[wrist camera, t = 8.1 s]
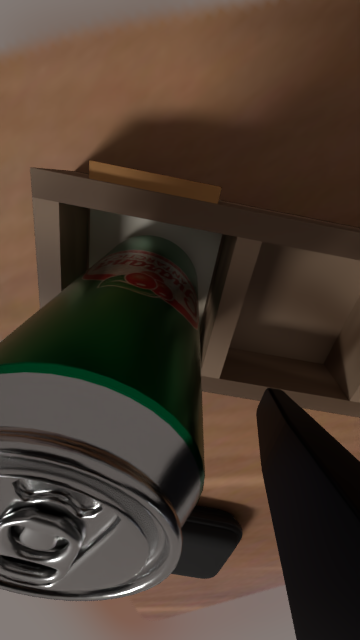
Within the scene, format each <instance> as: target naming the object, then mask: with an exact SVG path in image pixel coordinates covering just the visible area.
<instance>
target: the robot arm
mask: <svg viewBox="0 0 360 640" xmlns="http://www.w3.org/2000/svg"><path fill="white" fill-rule="evenodd" d="M256 416H257V427H258V437H259V448H260V458H261V466H262V473H263V478H264V483H265V488H266V493H267V498H268V503H269V507H270V512H271V517H272V522H273V527H274V532H275V537H276V541H277V546H278V551H279V556H280V561H281V566H282V571H283V576H284V580H285V585H286V590H287V595H288V600H289V605H290V610H291V614H292V619H293V624H294V629H295V634H296V639H297V640H360V461H358V460H357V459H356V458H355V457H354V456H353V455H352V454H351V453H350V452H349V451H348V450H347V449H345V448H344V447H343V446H342V445H341V444H340V443H339V442H338V441H337V440H336V439H335V438H334V437H332V436H331V435H330V434H329V433H328V432H327V431H326V430H325V429H324V428H323V427H322V426H321V425H319V424H318V423H317V422H316V421H315V420H314V419H313V418H312V417H311V416H310V415H309V414H308V413H307V412H305V411H304V410H303V409H302V408H301V407H300V406H299V405H298V404H297V403H296V402H295V401H294V400H292V399H291V398H290V397H289V396H288V395H287V394H286V393H285V392H284V391H283V390H281V389H275V388H267V389H266V390H265V391H264V394H263V396H262V398H261V401H260V403H259V405H258V408H257V414H256Z"/></svg>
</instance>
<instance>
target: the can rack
mask: <svg viewBox="0 0 360 640" xmlns="http://www.w3.org/2000/svg"><path fill="white" fill-rule="evenodd" d="M30 173H31V187H32V201H33V215H34V229H35V244H36V258H37V272H38V286H39V301H40V309H41V308H42V307H43V306H45V305H46V304H47V303H48V302H49V301H51V300H52V299H53V298H54V297H55V296H57V295H58V294H59V293H60V292H61V291H63V290H64V289H65V288H66V287H67V286H69V285H70V284H71V283H72V282H73V281H75V280H76V279H77V278H78V277H80V276H81V275H82V274H83V273H84V272H86V271H87V270H88V269H89V268H90V267H92V266H93V265H94V264H95V263H96V262H98V261H99V260H100V259H101V258H102V257H104V256H105V255H106V254H107V253H108V252H110V251H111V250H112V249H113V248H114V247H116V246H117V245H118V244H120V243H121V242H123V241H125V240H127V239H129V238H132V237H135V236H142V235H152V236H158V237H162V238H164V239H167V240H169V241H171V242H173V243H175V244H176V245H177V246H179V247H180V248H181V249H182V250H183V251H184V252H185V253H186V254H187V255H188V257H189V258H190V260H191V261H192V263H193V265H194V267H195V270H196V274H197V280H198V301H199V328H200V356H201V384H202V391H204V392H210V393H216V394H222V395H228V396H234V397H240V398H246V399H252V400H258V401H261V398H262V396H263V394H264V391H265V390H266V389H267V388H275V389H281V390H283V391H284V392H285V393H286V394H287V395H288V396H289V397H290V398H291V399H292V400H294V401H295V402H296V403H297V404H298V405H299V406H300V407H301V408H305V409H311V410H317V411H323V412H329V413H335V414H341V415H347V416H353V417H359V418H360V228H357V227H352V226H347V225H342V224H337V223H332V222H327V221H322V220H317V219H312V218H307V217H302V216H296V215H291V214H286V213H281V212H276V211H271V210H266V209H261V208H256V207H251V206H246V205H241V204H236V203H231V202H226V201H221V200H219V197H220V193H221V188H222V187H220V186H215V185H210V184H205V183H200V182H195V181H190V180H185V179H180V178H175V177H170V176H165V175H160V174H155V173H150V172H145V171H140V170H135V169H130V168H125V167H120V166H115V165H110V164H105V163H100V162H95V161H90V160H89V174H85V173H80V172H75V171H66V170H55V169H43V168H32V167H30Z"/></svg>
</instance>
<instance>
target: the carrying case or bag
mask: <svg viewBox="0 0 360 640" xmlns="http://www.w3.org/2000/svg"><path fill="white" fill-rule="evenodd" d="M181 530H182V537H183V542H182V551H181V555H180V558H179V561H178V563H177V565H176V568H175V569H174V570H173V571H172V573H171V574H177V575H183V576H189V577H195V578H212V577H214V576H215V575H216V574H217V573H218V572H219V571H220V569H221V568H222V566H223V565H224V563H225V562H226V561H227V559H228V558H229V556H230V555H231V554H232V552H233V551H234V549H235V548H236V546H237V545H238V543H239V542H240V540H241V538H242V528H241V526H240V524H239V523H238V521H237V520H235V519H234V517H233V516H232V515H231V514H229V513H227V512H225V511H221V510H216V509H211V508H206V507H201V506H195V507H194V509H193V511H192V512H191V514H190V515H189V517H188V518H187V520H186V522H185V523H184V525H183V527H182V529H181Z"/></svg>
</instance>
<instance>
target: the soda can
mask: <svg viewBox="0 0 360 640" xmlns="http://www.w3.org/2000/svg"><path fill="white" fill-rule="evenodd" d="M204 478H205V467H204V439H203V411H202V384H201V356H200V328H199V301H198V280H197V274H196V270H195V267H194V265H193V263H192V261H191V260H190V258H189V257H188V255H187V254H186V253H185V252H184V251H183V250H182V249H181V248H180V247H179V246H177V245H176V244H175V243H173V242H171V241H169V240H167V239H164V238H162V237H158V236H152V235H142V236H135V237H132V238H129V239H127V240H125V241H123V242H121V243H120V244H118V245H117V246H116V247H114V248H113V249H112V250H111V251H110V252H108V253H107V254H106V255H105V256H104V257H102V258H101V259H100V260H99V261H98V262H96V263H95V264H94V265H93V266H92V267H90V268H89V269H88V270H87V271H86V272H84V273H83V274H82V275H81V276H80V277H78V278H77V279H76V280H75V281H73V282H72V283H71V284H70V285H69V286H67V287H66V288H65V289H64V290H63V291H61V292H60V293H59V294H58V295H57V296H55V297H54V298H53V299H52V300H51V301H49V302H48V303H47V304H46V305H45V306H43V307H42V308H41V309H40V310H39V311H37V312H36V313H35V314H34V315H32V316H31V317H30V318H29V319H28V320H26V321H25V322H24V323H23V324H22V325H20V326H19V327H18V328H17V329H16V330H14V331H13V332H12V333H11V334H10V335H8V336H7V337H6V338H5V339H4V340H2V341H1V342H0V589H3V590H7V591H10V592H14V593H18V594H24V595H28V596H33V597H39V598H47V599H54V600H66V601H95V600H107V599H113V598H120V597H124V596H129V595H133V594H136V593H139V592H142V591H145V590H148V589H150V588H152V587H154V586H155V585H157V584H159V583H161V582H162V581H163V580H164V579H166V578H167V577H168V576H169V575H170V574H171V573H172V571H173V570H174V569H175V568H176V565H177V563H178V561H179V558H180V555H181V551H182V542H183V537H182V530H181V529H182V527H183V525H184V523H185V522H186V520H187V518H188V517H189V515H190V514H191V512H192V511H193V509H194V507H195V506H196V504H197V503H198V500H199V498H200V495H201V493H202V491H203V485H204Z"/></svg>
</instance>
